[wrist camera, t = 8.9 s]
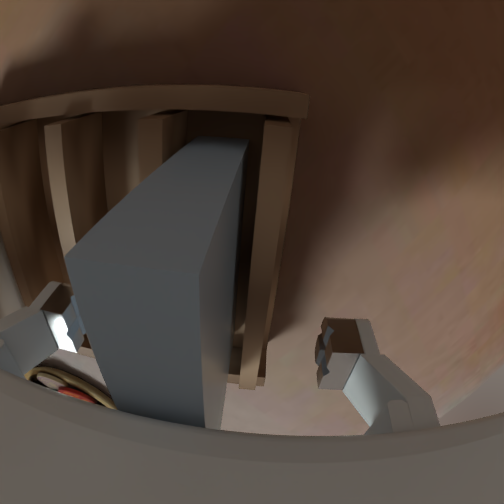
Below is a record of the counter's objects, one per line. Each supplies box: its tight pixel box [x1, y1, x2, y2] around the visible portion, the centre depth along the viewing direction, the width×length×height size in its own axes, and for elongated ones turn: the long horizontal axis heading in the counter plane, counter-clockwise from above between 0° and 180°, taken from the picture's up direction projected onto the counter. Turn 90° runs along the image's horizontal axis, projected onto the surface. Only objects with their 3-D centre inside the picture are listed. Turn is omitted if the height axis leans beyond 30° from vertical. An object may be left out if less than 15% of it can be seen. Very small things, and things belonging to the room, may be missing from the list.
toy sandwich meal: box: [24, 367, 117, 410], centre depth 24 cm, size 12×14×5 cm
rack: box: [0, 84, 310, 390], centre depth 11 cm, size 14×17×10 cm
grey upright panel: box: [64, 136, 249, 430], centre depth 10 cm, size 10×2×9 cm, turn 175°
